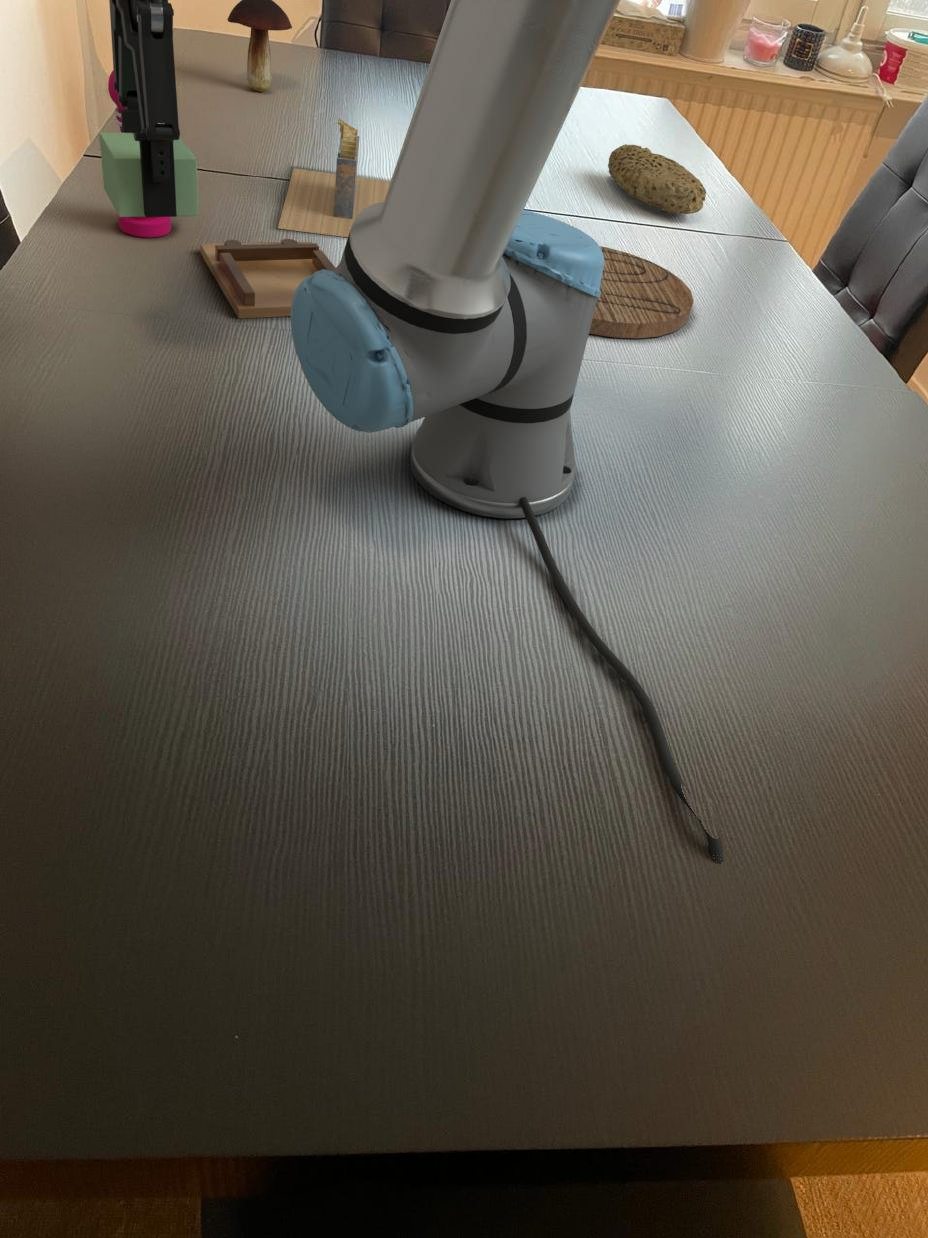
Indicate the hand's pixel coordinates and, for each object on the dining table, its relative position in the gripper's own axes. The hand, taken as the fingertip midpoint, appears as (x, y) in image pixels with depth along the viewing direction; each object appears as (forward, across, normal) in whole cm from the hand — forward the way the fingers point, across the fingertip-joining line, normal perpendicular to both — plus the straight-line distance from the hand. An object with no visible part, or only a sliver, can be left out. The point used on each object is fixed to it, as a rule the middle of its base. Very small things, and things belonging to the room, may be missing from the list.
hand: (150, 199), depth 91 cm
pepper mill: (+15, -32, +5) cm, 36 cm away
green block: (0, 0, 0) cm, 0 cm away
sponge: (+11, -38, +87) cm, 96 cm away
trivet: (+14, -20, +62) cm, 67 cm away
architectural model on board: (+15, -39, +34) cm, 54 cm away
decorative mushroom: (+15, -94, +39) cm, 103 cm away
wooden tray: (+15, -15, +17) cm, 27 cm away
